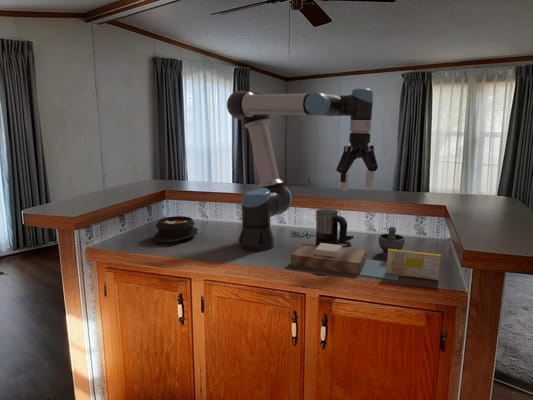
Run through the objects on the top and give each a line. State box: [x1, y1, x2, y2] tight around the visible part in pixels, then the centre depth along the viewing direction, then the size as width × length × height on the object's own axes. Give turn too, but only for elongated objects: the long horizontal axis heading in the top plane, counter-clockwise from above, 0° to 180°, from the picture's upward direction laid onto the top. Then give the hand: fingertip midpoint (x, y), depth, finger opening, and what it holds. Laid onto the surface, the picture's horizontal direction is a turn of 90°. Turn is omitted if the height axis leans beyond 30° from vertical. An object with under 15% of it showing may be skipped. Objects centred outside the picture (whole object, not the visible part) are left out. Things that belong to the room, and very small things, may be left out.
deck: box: [290, 243, 367, 275], centre depth 138 cm, size 24×14×4 cm, turn 68°
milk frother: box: [314, 208, 354, 245], centre depth 159 cm, size 14×16×15 cm
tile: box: [315, 243, 344, 257], centre depth 137 cm, size 8×8×2 cm
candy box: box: [386, 249, 442, 281], centre depth 124 cm, size 16×2×8 cm, turn 71°
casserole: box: [151, 215, 199, 243], centre depth 170 cm, size 25×19×8 cm
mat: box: [359, 258, 400, 282], centre depth 131 cm, size 12×16×1 cm
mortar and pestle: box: [378, 226, 406, 257], centre depth 146 cm, size 11×9×12 cm
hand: (356, 189), depth 145 cm, fingers open, 13 cm apart
